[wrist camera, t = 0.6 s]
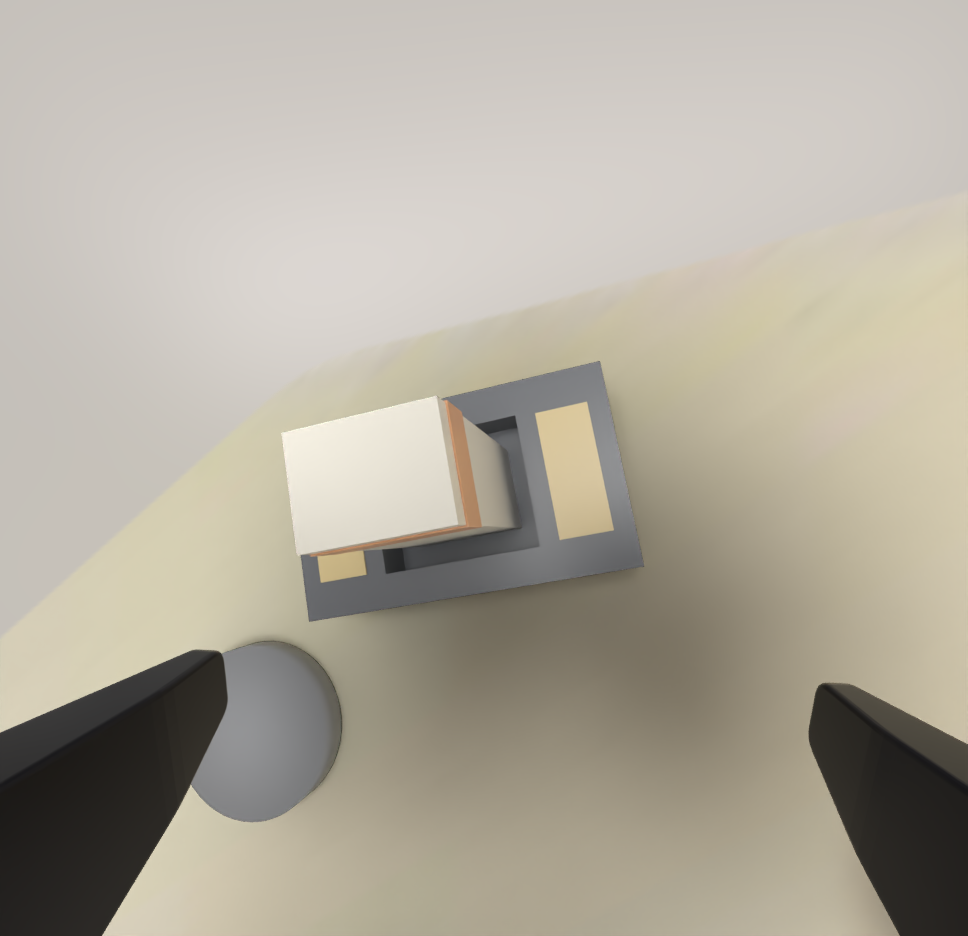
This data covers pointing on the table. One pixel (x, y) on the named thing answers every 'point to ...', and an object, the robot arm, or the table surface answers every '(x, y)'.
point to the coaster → (270, 733)
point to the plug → (396, 480)
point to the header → (540, 498)
